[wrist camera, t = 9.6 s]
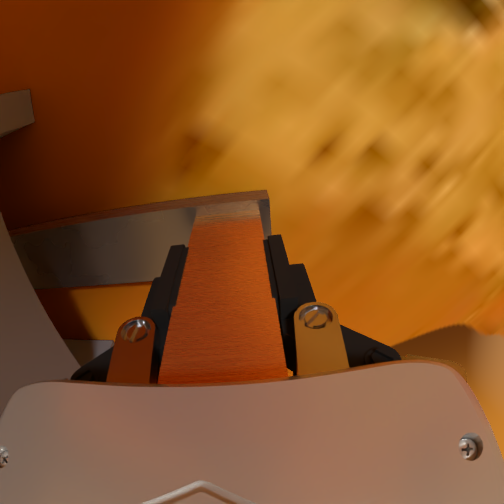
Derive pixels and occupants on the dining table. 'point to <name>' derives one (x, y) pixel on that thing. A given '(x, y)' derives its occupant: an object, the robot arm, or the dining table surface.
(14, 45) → the dining table surface
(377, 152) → the dining table surface
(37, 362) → the grey bridge block
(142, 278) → the scraper
